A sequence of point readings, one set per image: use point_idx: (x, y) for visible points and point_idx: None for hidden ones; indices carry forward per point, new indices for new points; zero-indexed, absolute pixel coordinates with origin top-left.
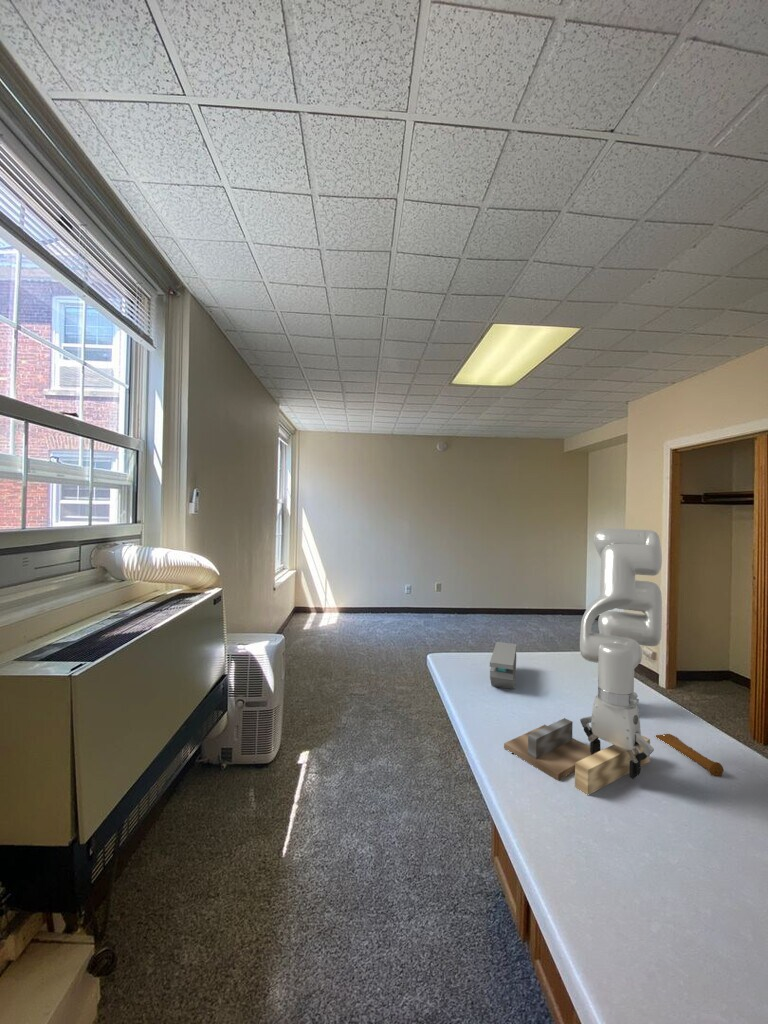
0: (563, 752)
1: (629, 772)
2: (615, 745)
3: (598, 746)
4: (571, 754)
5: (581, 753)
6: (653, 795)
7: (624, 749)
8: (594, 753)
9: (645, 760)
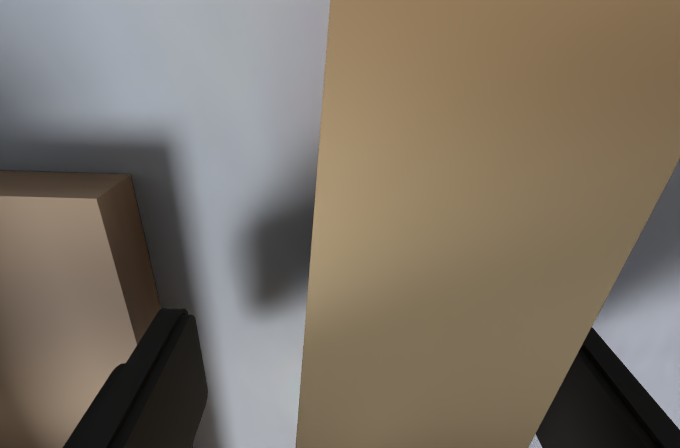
0: (15, 446)
1: (538, 438)
2: (332, 442)
3: (153, 443)
4: (61, 429)
5: (77, 368)
6: (652, 326)
7: (487, 439)
8: (189, 441)
9: None
